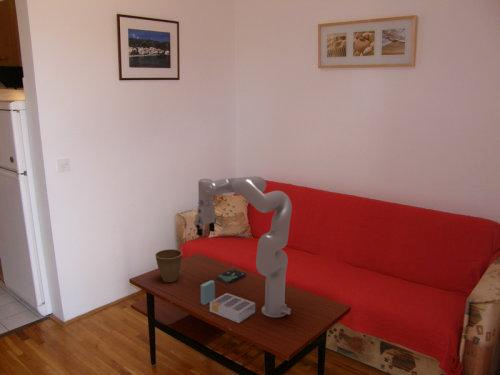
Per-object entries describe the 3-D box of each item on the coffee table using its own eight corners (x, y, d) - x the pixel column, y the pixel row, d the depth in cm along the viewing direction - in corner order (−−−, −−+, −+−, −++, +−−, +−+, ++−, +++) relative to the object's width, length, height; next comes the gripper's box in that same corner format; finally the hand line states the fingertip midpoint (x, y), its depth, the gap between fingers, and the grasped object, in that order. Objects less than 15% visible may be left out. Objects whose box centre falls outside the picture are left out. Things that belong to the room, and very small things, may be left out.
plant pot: (174, 272, 257) (174, 247, 254) (187, 281, 246) (187, 254, 242) (151, 279, 248) (150, 252, 244) (163, 288, 236) (163, 260, 233)
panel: (214, 299, 224) (214, 281, 222) (204, 305, 218) (204, 286, 216) (211, 297, 226) (211, 280, 224) (200, 303, 219) (200, 285, 217)
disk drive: (233, 273, 259) (215, 280, 248) (233, 268, 259) (215, 275, 248) (246, 277, 253) (228, 285, 242) (246, 273, 252) (228, 280, 241)
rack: (255, 312, 211) (255, 302, 210) (238, 323, 200) (238, 312, 199) (226, 301, 221) (226, 292, 220) (209, 311, 211) (209, 301, 210)
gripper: (199, 206, 219) (200, 238, 223) (221, 200, 233) (221, 230, 236) (189, 204, 223) (189, 235, 227) (211, 198, 237) (211, 228, 241)
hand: (205, 233), depth 232 cm, fingers open, 9 cm apart
